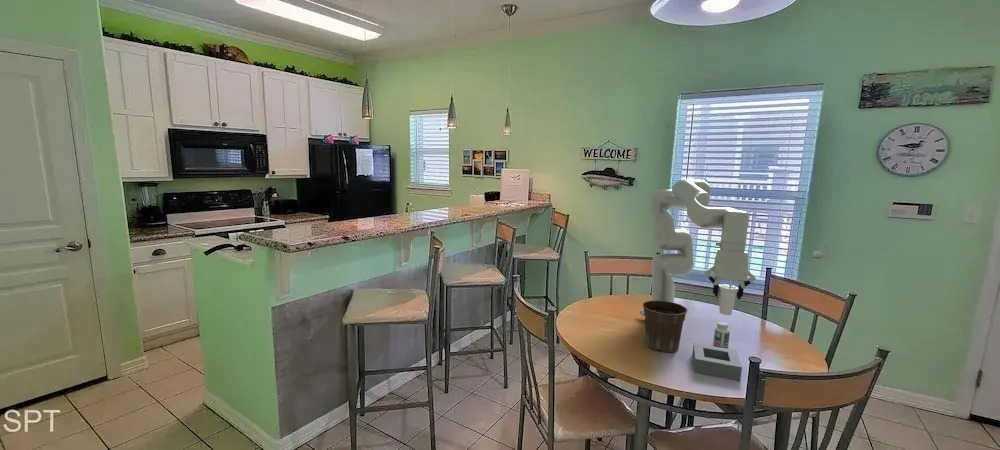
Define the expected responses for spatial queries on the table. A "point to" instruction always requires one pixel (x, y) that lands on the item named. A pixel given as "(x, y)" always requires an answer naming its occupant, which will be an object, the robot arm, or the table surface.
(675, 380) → the table surface
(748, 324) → the table surface
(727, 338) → the pill bottle
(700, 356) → the socket
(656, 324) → the plant pot
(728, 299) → the smoothie
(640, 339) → the table surface
